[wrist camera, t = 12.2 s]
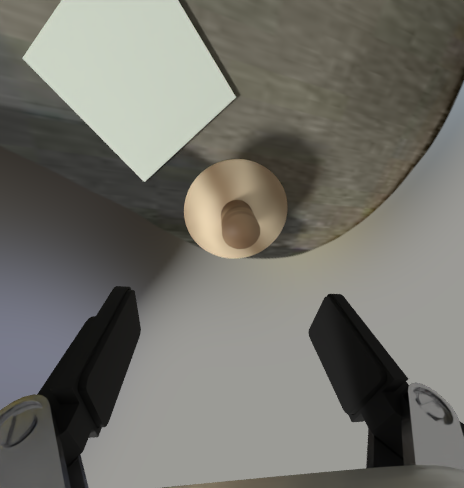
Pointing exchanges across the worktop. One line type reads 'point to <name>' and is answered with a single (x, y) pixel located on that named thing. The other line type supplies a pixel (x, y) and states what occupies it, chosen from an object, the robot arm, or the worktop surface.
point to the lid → (235, 208)
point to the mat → (132, 75)
